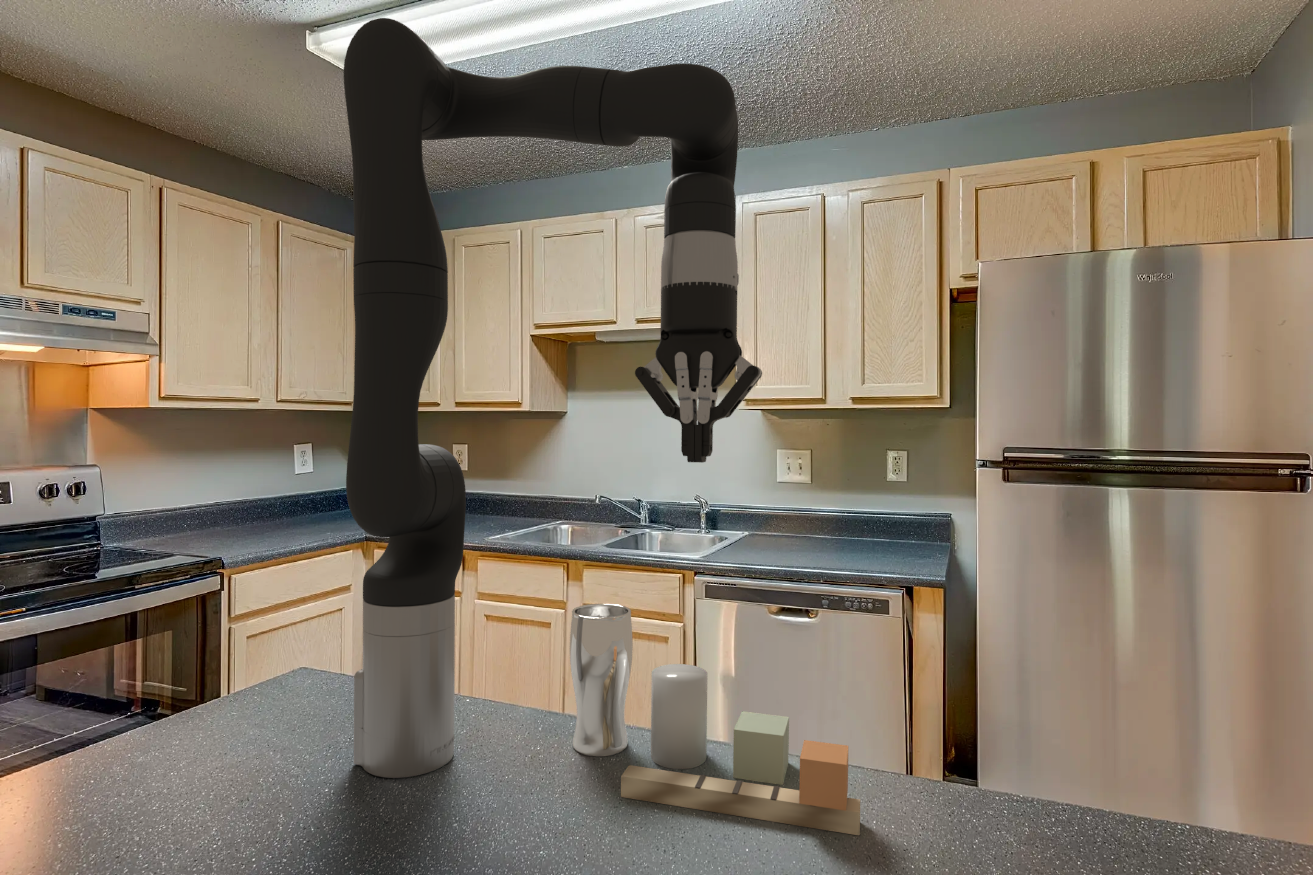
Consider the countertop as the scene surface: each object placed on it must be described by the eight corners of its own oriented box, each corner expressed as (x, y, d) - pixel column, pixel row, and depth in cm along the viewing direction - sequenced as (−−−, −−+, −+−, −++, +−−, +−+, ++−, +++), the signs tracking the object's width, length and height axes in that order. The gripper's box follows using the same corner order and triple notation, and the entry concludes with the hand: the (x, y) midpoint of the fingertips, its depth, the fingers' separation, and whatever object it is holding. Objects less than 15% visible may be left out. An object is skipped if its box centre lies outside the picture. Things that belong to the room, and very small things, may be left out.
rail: (620, 796, 70) (621, 775, 70) (629, 784, 73) (629, 763, 73) (859, 835, 64) (859, 811, 64) (860, 820, 67) (860, 798, 67)
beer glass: (623, 761, 78) (624, 620, 78) (560, 755, 79) (561, 616, 79) (637, 734, 85) (639, 604, 84) (579, 729, 86) (580, 601, 86)
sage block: (733, 778, 75) (733, 729, 75) (741, 757, 79) (742, 711, 79) (782, 785, 73) (783, 735, 73) (788, 763, 78) (789, 716, 78)
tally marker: (799, 803, 65) (799, 758, 65) (803, 782, 69) (804, 739, 69) (846, 810, 64) (846, 764, 64) (847, 788, 68) (848, 745, 68)
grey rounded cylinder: (643, 764, 77) (644, 678, 77) (659, 741, 83) (660, 661, 83) (699, 772, 76) (700, 685, 76) (711, 748, 81) (712, 667, 81)
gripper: (622, 282, 71) (621, 462, 71) (760, 275, 67) (758, 465, 67) (646, 295, 78) (644, 459, 78) (771, 290, 74) (769, 462, 75)
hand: (697, 461), depth 73 cm, fingers closed
